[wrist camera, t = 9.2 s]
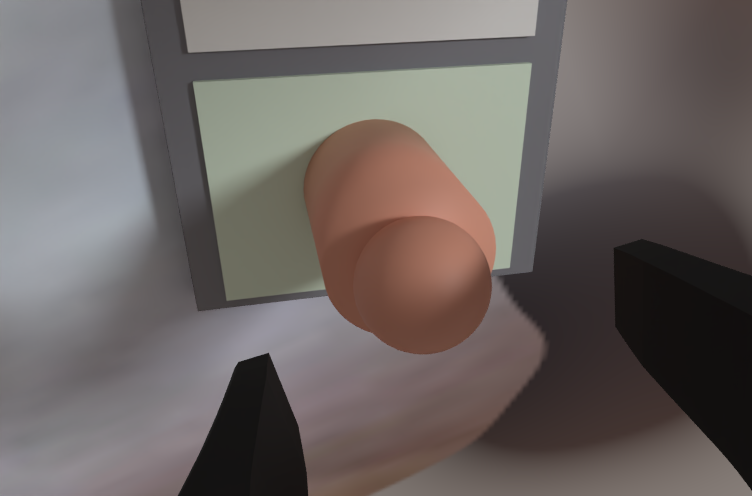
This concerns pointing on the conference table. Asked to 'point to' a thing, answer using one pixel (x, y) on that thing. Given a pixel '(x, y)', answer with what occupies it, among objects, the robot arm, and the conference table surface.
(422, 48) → the game board
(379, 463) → the conference table surface
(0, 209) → the conference table surface
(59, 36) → the conference table surface
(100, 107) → the conference table surface
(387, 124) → the pawn
